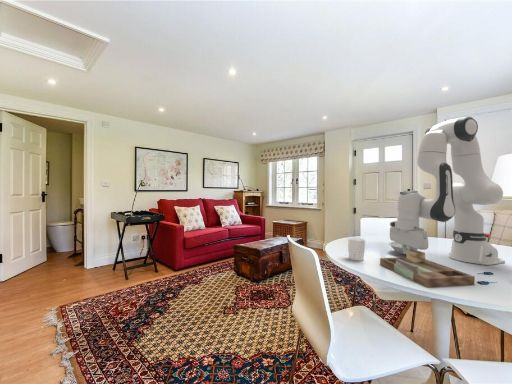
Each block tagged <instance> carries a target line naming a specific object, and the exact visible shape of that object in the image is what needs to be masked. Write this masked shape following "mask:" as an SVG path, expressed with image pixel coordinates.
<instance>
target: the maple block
mask: <svg viewBox="0 0 512 384" xmlns="http://www.w3.org/2000/svg"><path fill="white" fill-rule="evenodd" d="M405 255H406V254H405ZM405 257H406V259H408V260H411V261H413V262H425V259H426V252H424V251H422V250H421V251H420V250H419V249H417V250H407V255H406V256H405Z"/></svg>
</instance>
